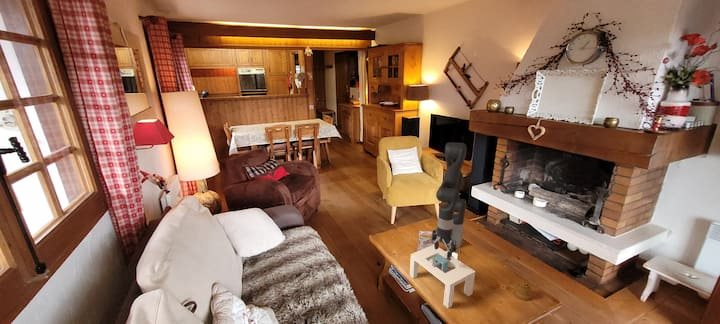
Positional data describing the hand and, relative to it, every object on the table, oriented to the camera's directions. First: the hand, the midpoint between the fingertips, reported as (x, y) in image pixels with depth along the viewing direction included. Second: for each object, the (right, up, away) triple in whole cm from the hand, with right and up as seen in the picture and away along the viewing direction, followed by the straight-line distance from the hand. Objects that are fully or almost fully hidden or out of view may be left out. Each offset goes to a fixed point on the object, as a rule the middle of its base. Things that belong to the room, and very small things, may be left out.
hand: (442, 252), depth 149 cm
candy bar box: (-1, -12, +30) cm, 32 cm away
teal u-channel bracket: (0, -12, +4) cm, 13 cm away
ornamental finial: (+40, -21, -2) cm, 46 cm away
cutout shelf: (0, -19, +6) cm, 20 cm away
